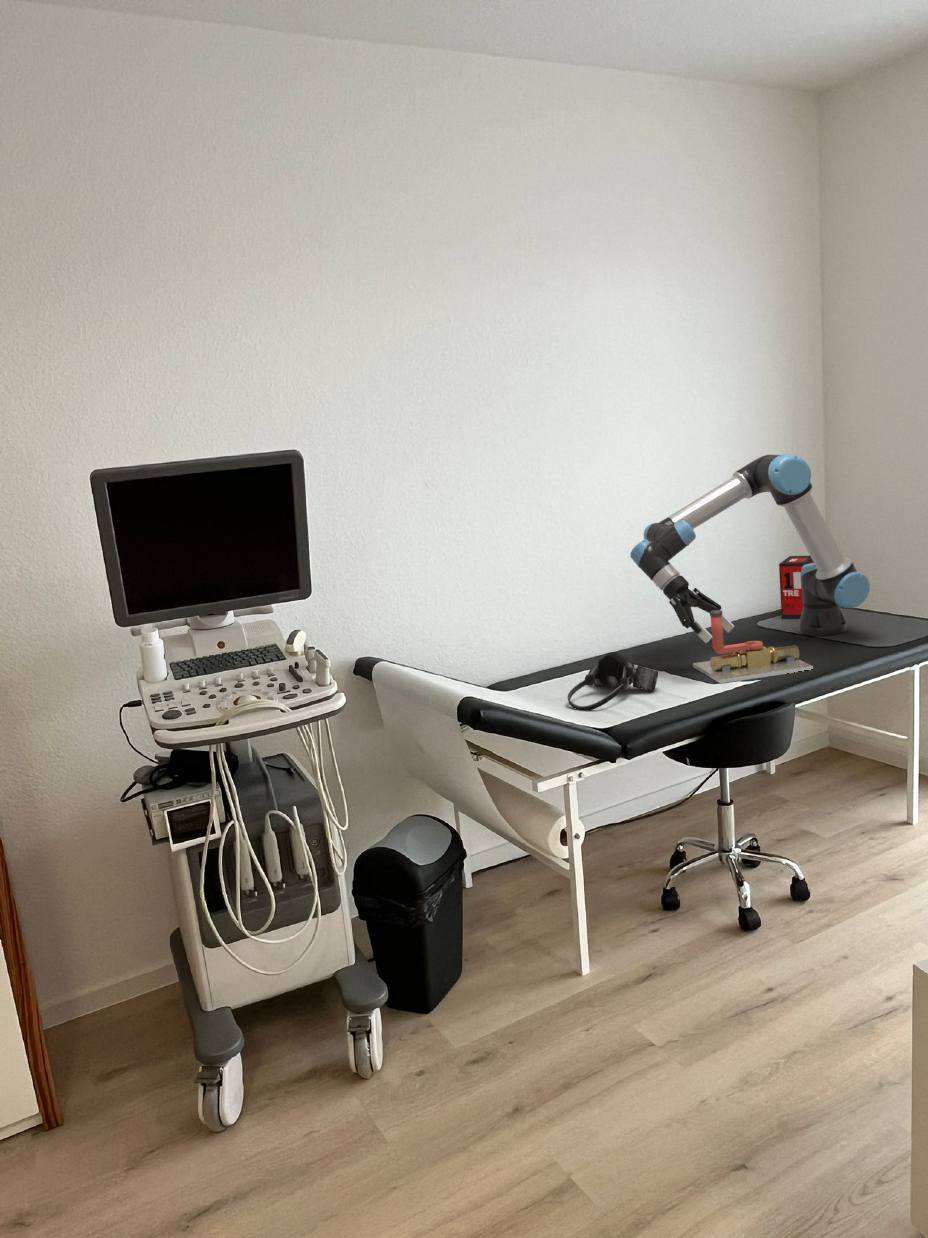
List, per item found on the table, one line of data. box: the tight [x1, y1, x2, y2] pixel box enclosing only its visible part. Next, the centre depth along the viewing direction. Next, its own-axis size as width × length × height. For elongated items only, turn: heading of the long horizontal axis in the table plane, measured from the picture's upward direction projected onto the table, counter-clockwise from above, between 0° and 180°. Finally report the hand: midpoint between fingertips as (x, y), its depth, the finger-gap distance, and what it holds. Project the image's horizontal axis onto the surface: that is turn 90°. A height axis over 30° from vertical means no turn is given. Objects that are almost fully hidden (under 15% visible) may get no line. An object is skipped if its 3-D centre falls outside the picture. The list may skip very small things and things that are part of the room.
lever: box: [709, 609, 764, 655], centre depth 286 cm, size 15×5×12 cm, turn 98°
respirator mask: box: [567, 651, 659, 711], centre depth 278 cm, size 22×24×17 cm
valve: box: [692, 644, 814, 684], centre depth 289 cm, size 28×21×6 cm
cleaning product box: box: [778, 555, 814, 620], centre depth 351 cm, size 16×9×20 cm, turn 149°
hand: (720, 634), depth 285 cm, fingers open, 13 cm apart
